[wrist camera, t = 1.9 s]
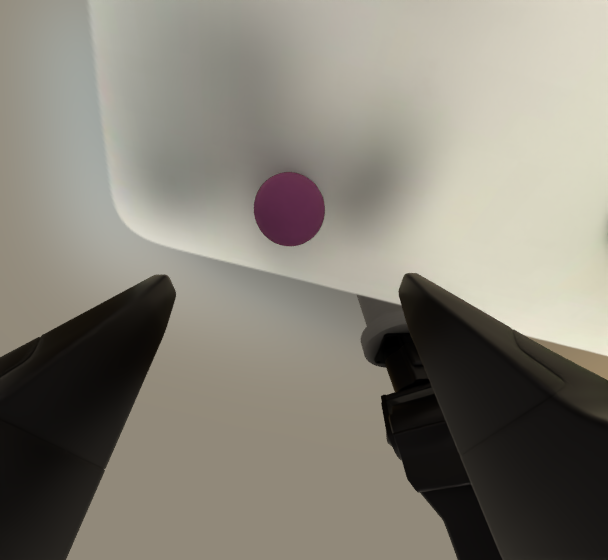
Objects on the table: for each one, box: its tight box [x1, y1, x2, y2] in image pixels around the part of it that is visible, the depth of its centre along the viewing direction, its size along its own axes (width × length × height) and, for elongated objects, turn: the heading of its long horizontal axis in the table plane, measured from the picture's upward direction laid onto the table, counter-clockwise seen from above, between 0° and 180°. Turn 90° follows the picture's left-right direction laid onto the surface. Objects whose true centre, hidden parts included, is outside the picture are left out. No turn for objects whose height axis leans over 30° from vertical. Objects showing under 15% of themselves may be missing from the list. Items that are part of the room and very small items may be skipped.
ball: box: [254, 172, 325, 246], centre depth 14 cm, size 4×4×4 cm
